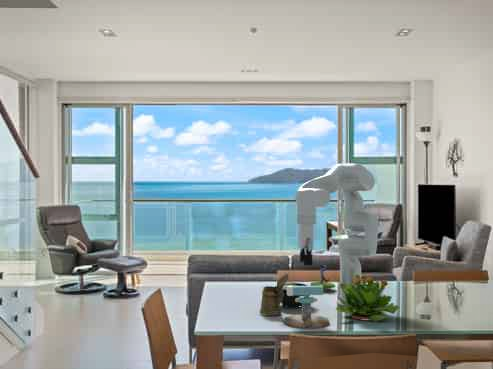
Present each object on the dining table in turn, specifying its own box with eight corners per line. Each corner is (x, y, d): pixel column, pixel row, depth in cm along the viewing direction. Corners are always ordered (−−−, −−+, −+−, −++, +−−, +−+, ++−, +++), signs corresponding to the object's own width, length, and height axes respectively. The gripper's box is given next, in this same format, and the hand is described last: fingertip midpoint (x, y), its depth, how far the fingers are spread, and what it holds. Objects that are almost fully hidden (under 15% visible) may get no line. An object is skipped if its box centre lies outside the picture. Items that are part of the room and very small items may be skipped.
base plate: (324, 317, 249) (324, 297, 249) (333, 328, 231) (333, 307, 231) (280, 317, 248) (280, 298, 248) (287, 328, 230) (287, 308, 230)
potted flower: (346, 326, 233) (346, 281, 233) (321, 313, 256) (321, 272, 256) (403, 322, 240) (403, 278, 240) (374, 309, 263) (374, 269, 263)
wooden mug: (280, 319, 246) (280, 275, 246) (255, 314, 255) (255, 271, 254) (293, 315, 253) (293, 272, 252) (268, 310, 261) (268, 269, 261)
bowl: (314, 303, 276) (314, 281, 276) (307, 311, 260) (307, 288, 260) (277, 301, 281) (278, 279, 281) (269, 309, 264) (269, 286, 264)
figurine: (336, 293, 301) (337, 263, 300) (311, 292, 301) (311, 262, 301) (333, 287, 314) (333, 259, 314) (309, 287, 315) (309, 259, 315)
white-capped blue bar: (321, 300, 243) (321, 284, 243) (324, 303, 237) (324, 287, 237) (286, 300, 242) (286, 285, 242) (288, 303, 236) (288, 287, 236)
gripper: (293, 219, 247) (293, 260, 247) (300, 221, 230) (300, 266, 230) (311, 219, 248) (311, 260, 248) (319, 221, 230) (319, 266, 230)
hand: (306, 263), depth 239 cm, fingers open, 9 cm apart
